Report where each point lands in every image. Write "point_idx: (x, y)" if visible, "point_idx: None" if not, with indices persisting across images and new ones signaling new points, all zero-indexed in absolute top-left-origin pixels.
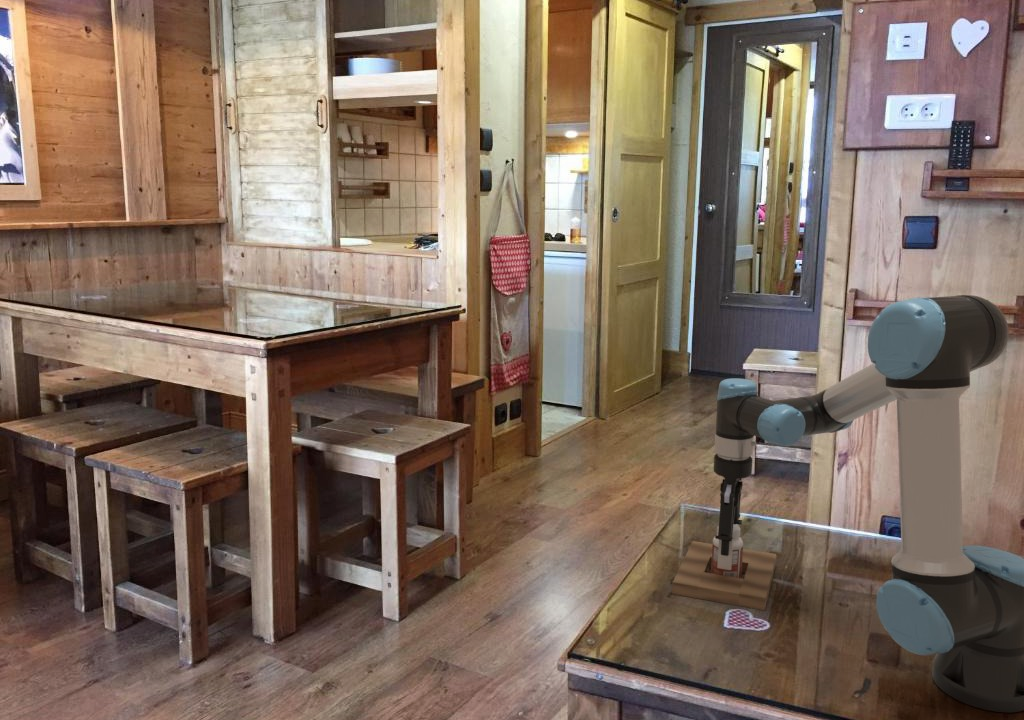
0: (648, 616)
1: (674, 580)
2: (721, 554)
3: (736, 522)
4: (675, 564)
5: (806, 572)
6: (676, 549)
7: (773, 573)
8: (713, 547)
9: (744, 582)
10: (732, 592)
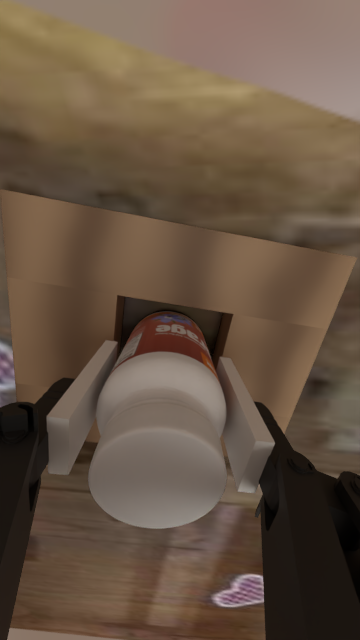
0: None
1: (16, 196)
2: (60, 381)
3: (263, 504)
4: (234, 205)
5: (234, 481)
6: (345, 206)
7: None
8: (140, 349)
9: None
10: (15, 368)
